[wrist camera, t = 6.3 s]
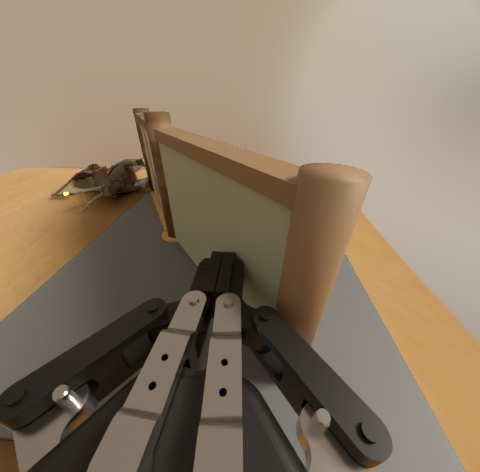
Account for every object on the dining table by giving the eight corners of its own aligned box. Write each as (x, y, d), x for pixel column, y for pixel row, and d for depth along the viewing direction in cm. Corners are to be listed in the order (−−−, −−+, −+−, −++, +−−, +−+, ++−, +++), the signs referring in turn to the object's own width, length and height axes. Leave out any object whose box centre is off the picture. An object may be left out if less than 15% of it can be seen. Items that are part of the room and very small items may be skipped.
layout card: (-116, 427, 12) (-125, 423, 12) (152, 188, 43) (152, 186, 43) (467, 486, 11) (474, 483, 10) (310, 195, 42) (311, 192, 41)
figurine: (131, 174, 31) (8, 189, 30) (145, 210, 35) (34, 226, 33) (155, 147, 48) (77, 156, 47) (163, 174, 51) (90, 183, 50)
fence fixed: (188, 236, 28) (171, 113, 20) (169, 240, 27) (144, 113, 19) (162, 186, 43) (147, 104, 35) (150, 188, 42) (131, 104, 34)
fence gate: (172, 240, 27) (149, 122, 19) (190, 234, 28) (175, 121, 21) (284, 390, 13) (344, 189, 6) (310, 366, 14) (386, 175, 7)
